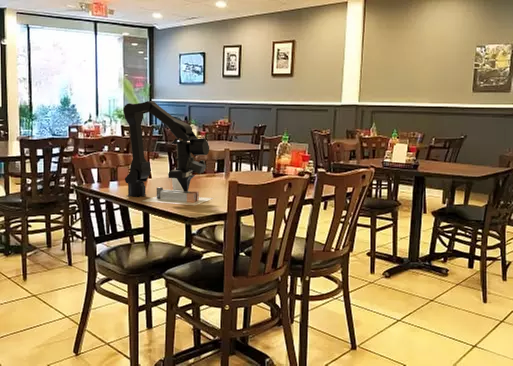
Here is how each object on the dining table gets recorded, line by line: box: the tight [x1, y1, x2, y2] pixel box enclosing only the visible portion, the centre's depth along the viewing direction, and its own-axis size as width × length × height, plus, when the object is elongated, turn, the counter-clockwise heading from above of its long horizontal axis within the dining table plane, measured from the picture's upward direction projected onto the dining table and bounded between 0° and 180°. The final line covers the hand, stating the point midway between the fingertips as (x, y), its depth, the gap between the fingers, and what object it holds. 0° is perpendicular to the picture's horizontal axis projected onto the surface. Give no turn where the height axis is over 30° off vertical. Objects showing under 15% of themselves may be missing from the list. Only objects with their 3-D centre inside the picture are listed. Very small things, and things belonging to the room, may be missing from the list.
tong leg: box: [156, 186, 200, 201], centre depth 213 cm, size 18×3×4 cm, turn 74°
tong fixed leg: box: [160, 191, 196, 203], centre depth 210 cm, size 15×2×4 cm, turn 71°
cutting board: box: [142, 196, 214, 206], centre depth 214 cm, size 24×18×1 cm
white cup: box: [171, 178, 184, 191], centre depth 242 cm, size 7×7×7 cm
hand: (186, 192), depth 213 cm, fingers closed
